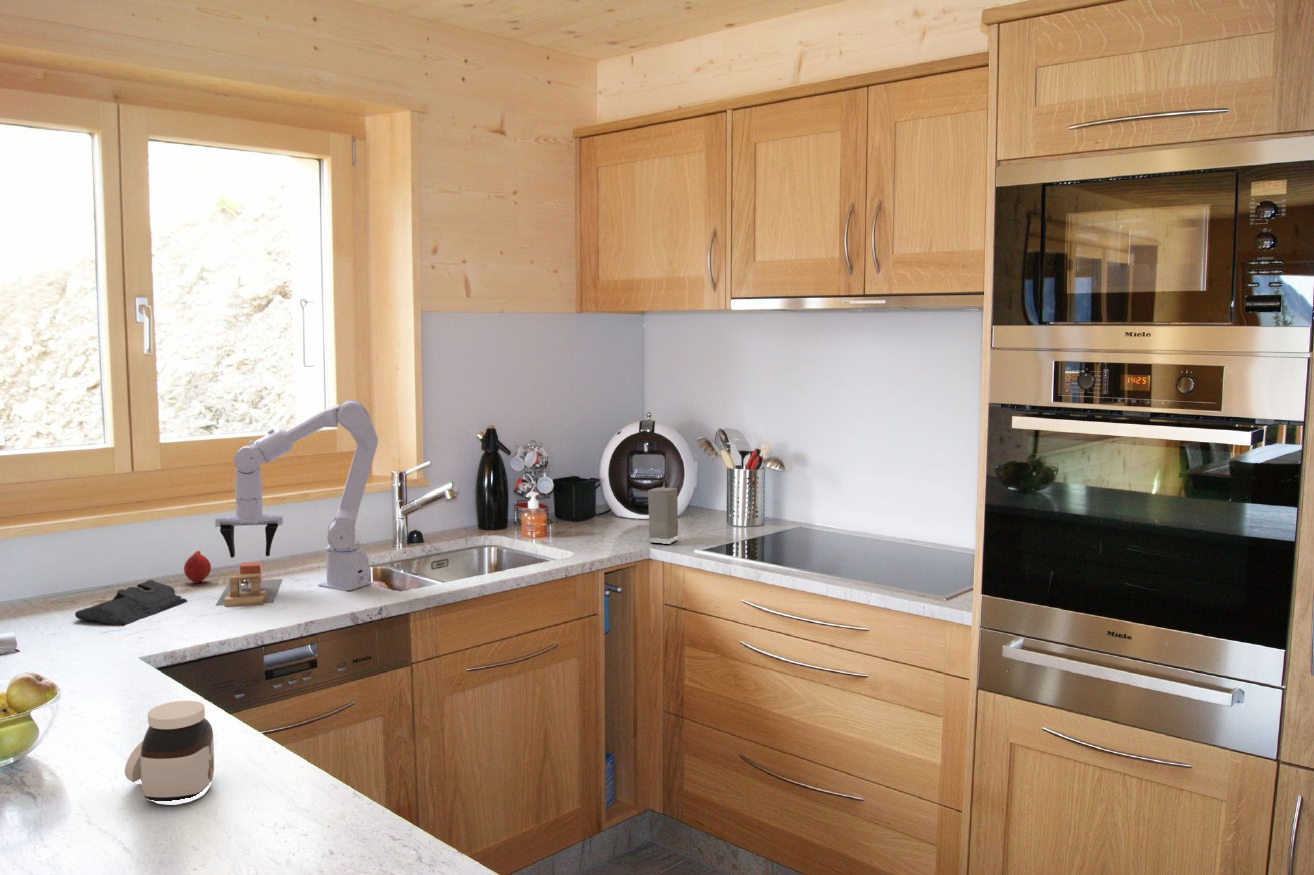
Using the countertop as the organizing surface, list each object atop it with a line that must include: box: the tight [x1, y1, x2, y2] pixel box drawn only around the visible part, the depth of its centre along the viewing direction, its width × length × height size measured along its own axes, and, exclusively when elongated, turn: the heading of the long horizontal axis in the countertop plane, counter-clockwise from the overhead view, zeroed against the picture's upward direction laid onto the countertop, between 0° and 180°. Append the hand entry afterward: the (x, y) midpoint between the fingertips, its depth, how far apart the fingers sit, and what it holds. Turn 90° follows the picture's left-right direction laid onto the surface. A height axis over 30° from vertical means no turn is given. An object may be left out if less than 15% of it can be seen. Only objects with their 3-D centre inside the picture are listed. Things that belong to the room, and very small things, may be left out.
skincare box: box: [647, 487, 679, 539], centre depth 302 cm, size 8×7×16 cm
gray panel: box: [215, 578, 283, 606], centre depth 241 cm, size 22×12×1 cm, turn 15°
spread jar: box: [124, 700, 215, 801], centre depth 139 cm, size 12×11×12 cm
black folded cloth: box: [74, 579, 188, 626], centre depth 225 cm, size 15×22×5 cm
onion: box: [183, 549, 212, 584], centre depth 248 cm, size 6×6×8 cm
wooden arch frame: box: [223, 573, 266, 607], centre depth 232 cm, size 6×8×6 cm
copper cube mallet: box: [239, 561, 263, 591], centre depth 236 cm, size 16×4×4 cm, turn 15°
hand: (250, 556), depth 242 cm, fingers open, 7 cm apart
